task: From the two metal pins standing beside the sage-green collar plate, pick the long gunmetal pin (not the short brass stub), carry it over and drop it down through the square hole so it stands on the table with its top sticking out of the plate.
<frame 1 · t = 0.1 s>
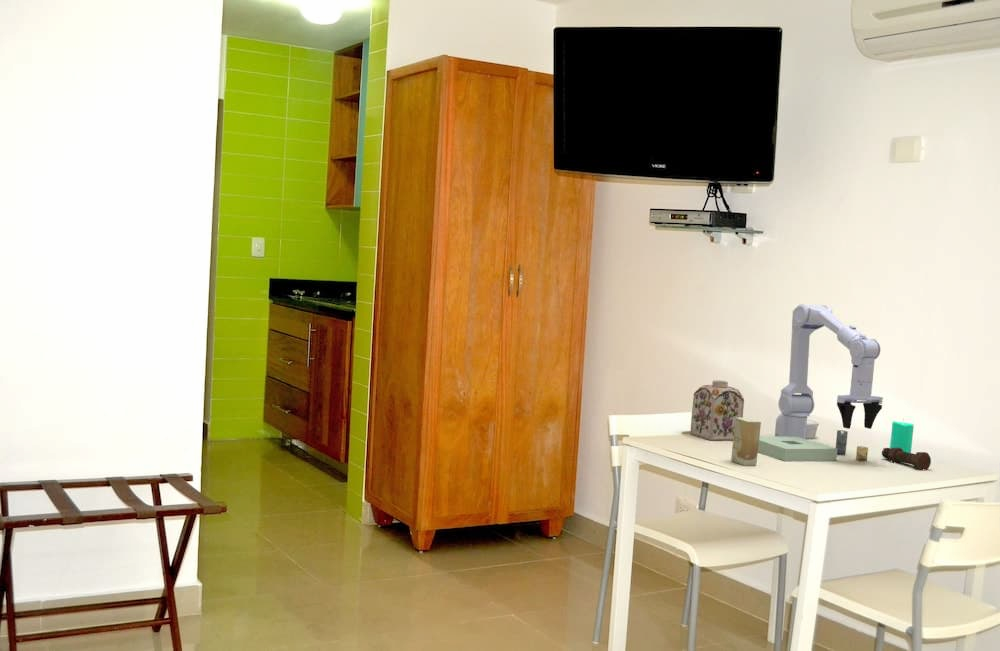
hand: (857, 428, 275), 10 cm above the table, fingers open, 7 cm apart
short pin: (861, 460, 279), on the table
collar plate: (790, 454, 281), on the table
candle: (899, 458, 289), on the table
decorative jar: (715, 437, 302), on the table
skincare box: (743, 463, 262), on the table
ramekin: (799, 437, 316), on the table
tall pin: (840, 454, 287), on the table
bolt: (903, 465, 278), on the table
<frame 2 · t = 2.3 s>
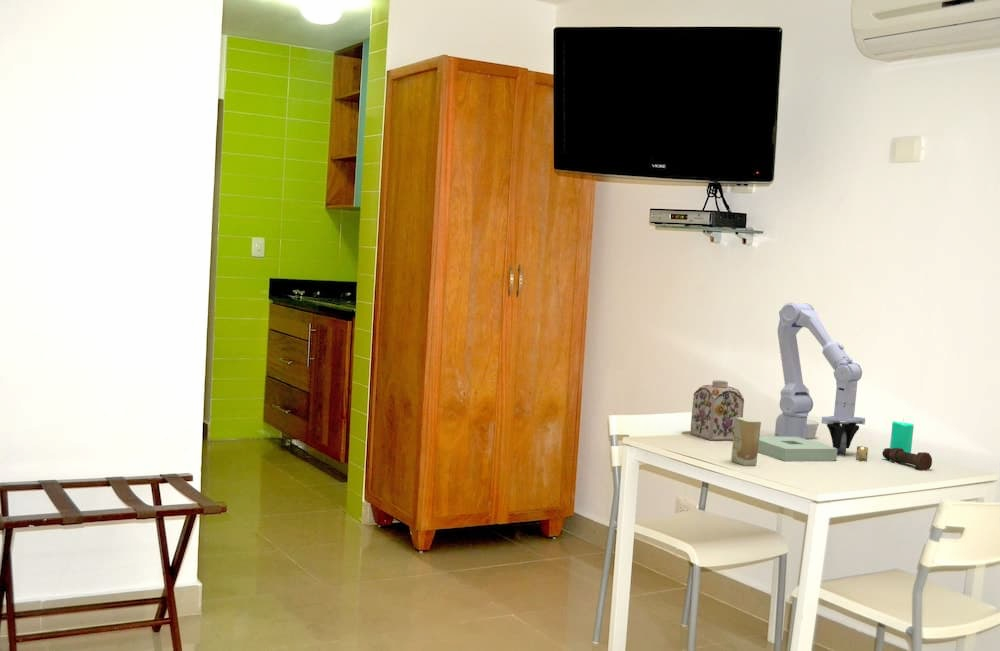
hand: (840, 447, 287), 2 cm above the table, fingers closed on tall pin, 3 cm apart
tall pin: (840, 454, 288), on the table, touching gripper
everything else where it was.
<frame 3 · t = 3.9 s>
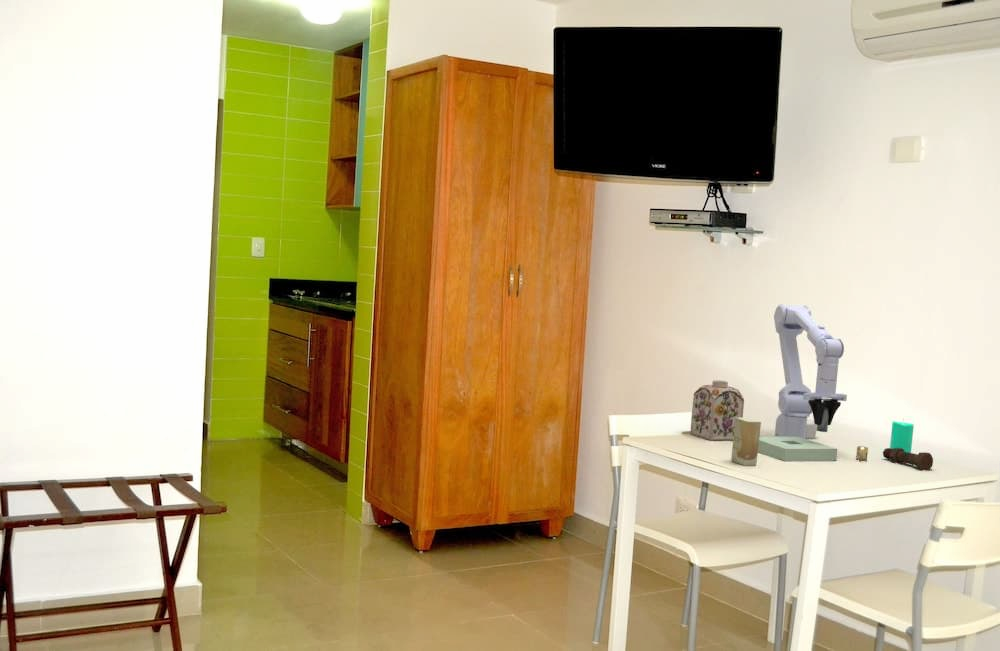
hand: (822, 424, 284), 9 cm above the table, fingers closed on tall pin, 3 cm apart
tall pin: (822, 431, 284), point 7 cm above the table, touching gripper
everything else where it was.
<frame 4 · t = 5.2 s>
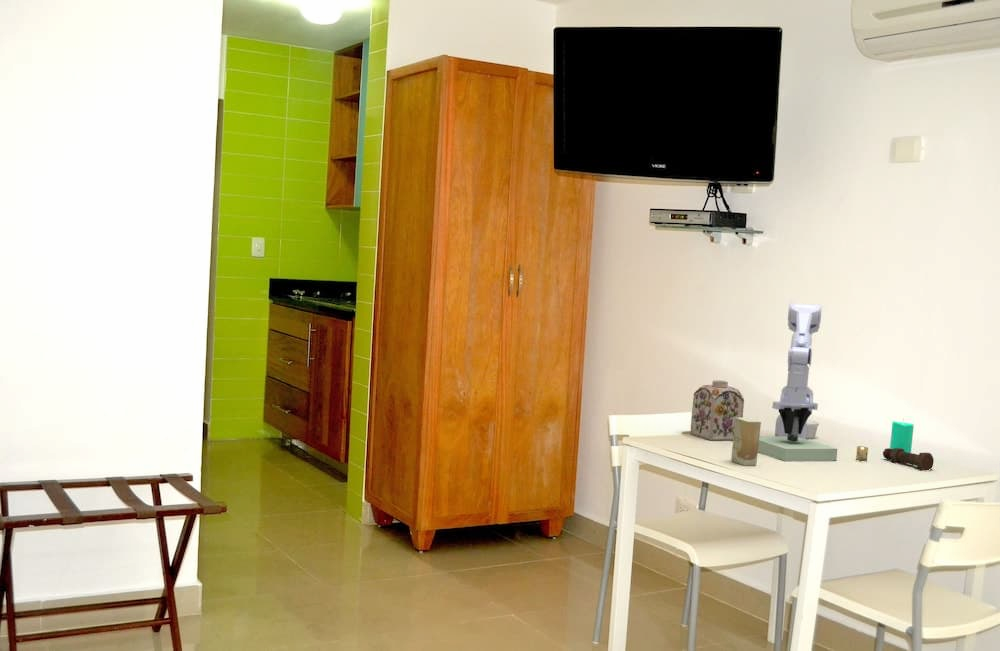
hand: (792, 433, 281), 6 cm above the table, fingers closed on tall pin, 3 cm apart
tall pin: (792, 440, 281), point 4 cm above the table, touching gripper
everything else where it was.
when the fingers open (4 cm above the table, at t = 5.9 s): tall pin drops 2 cm, resting in collar plate.
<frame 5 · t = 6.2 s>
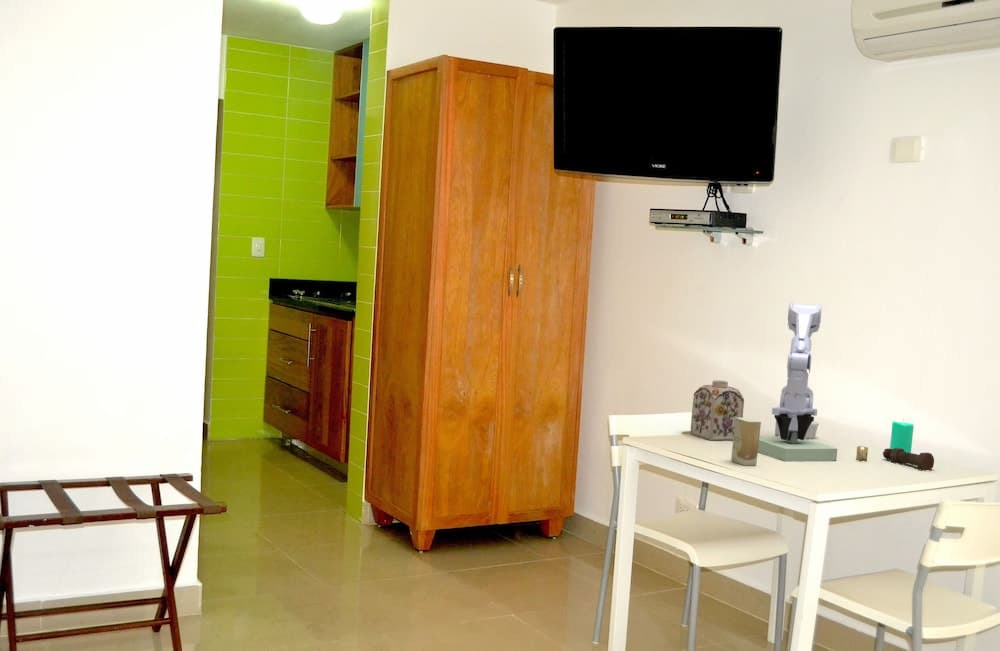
hand: (792, 439, 281), 4 cm above the table, fingers open, 5 cm apart
tall pin: (790, 454, 281), resting in collar plate
everything else where it was.
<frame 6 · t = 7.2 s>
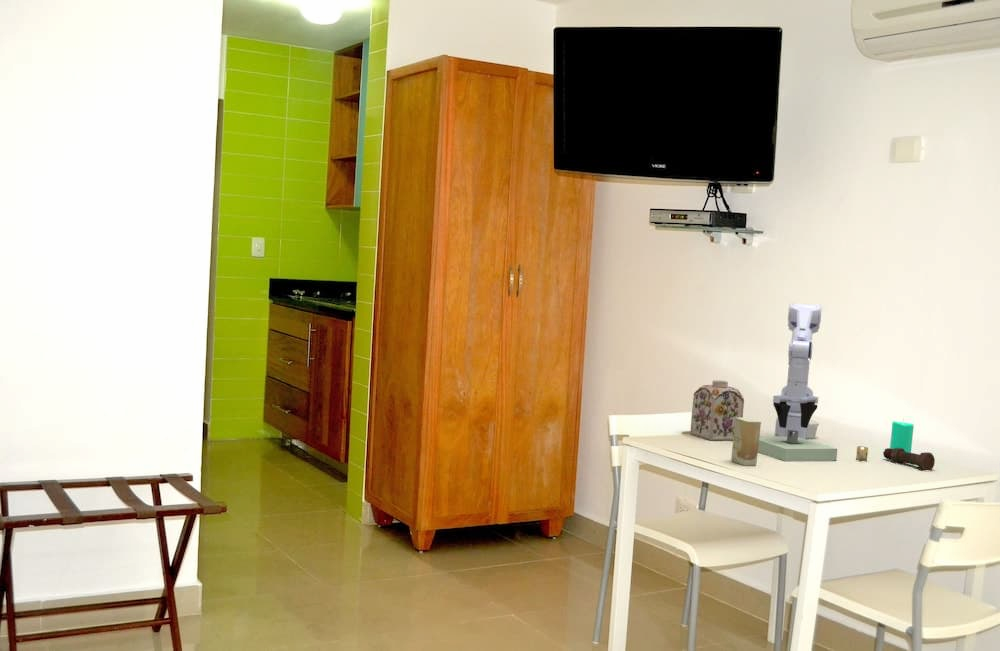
hand: (793, 427, 281), 8 cm above the table, fingers open, 7 cm apart
nothing on the table moved.
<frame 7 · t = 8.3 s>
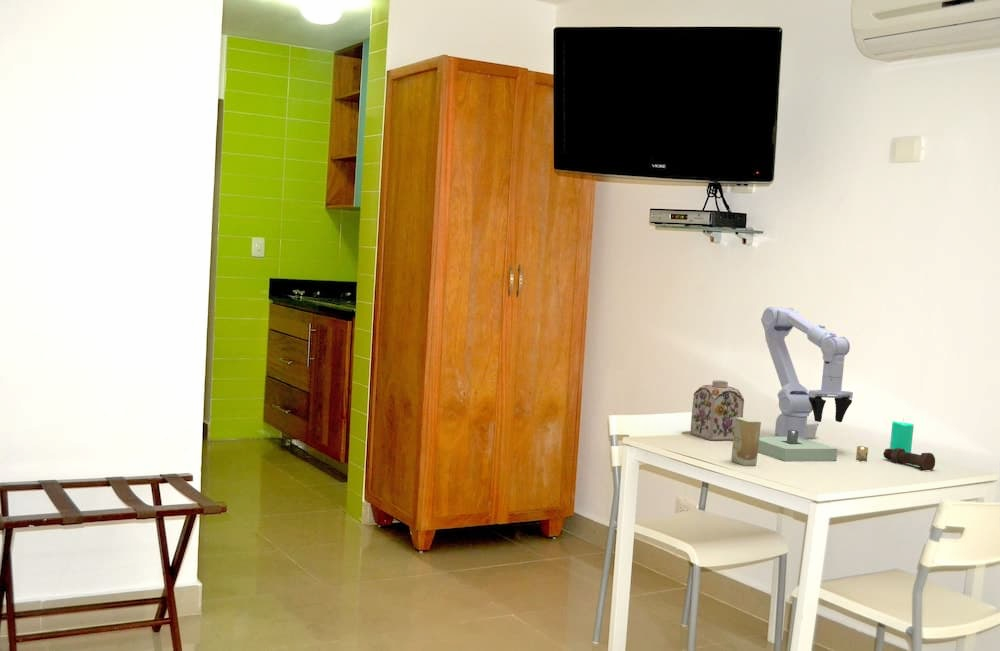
hand: (828, 421, 288), 9 cm above the table, fingers open, 7 cm apart
nothing on the table moved.
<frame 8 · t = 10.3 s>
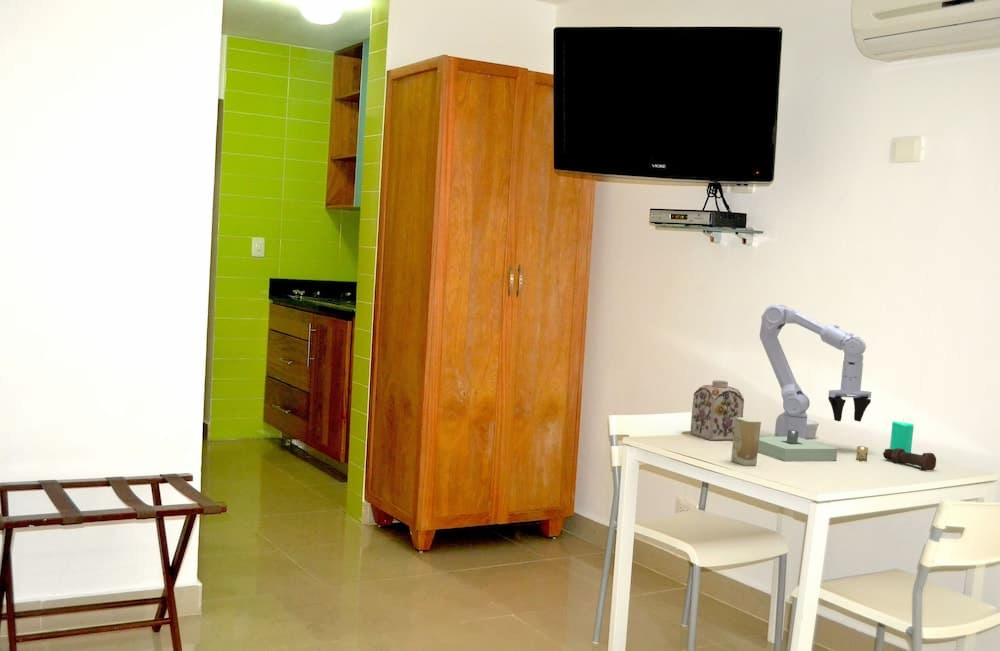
hand: (847, 420, 292), 9 cm above the table, fingers open, 7 cm apart
at the end: tall pin 0.1 cm off-centre on the collar plate, point 0.0 cm above the collar plate's base; tall pin tilted 0°; short pin moved 0.0 cm from its start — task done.
